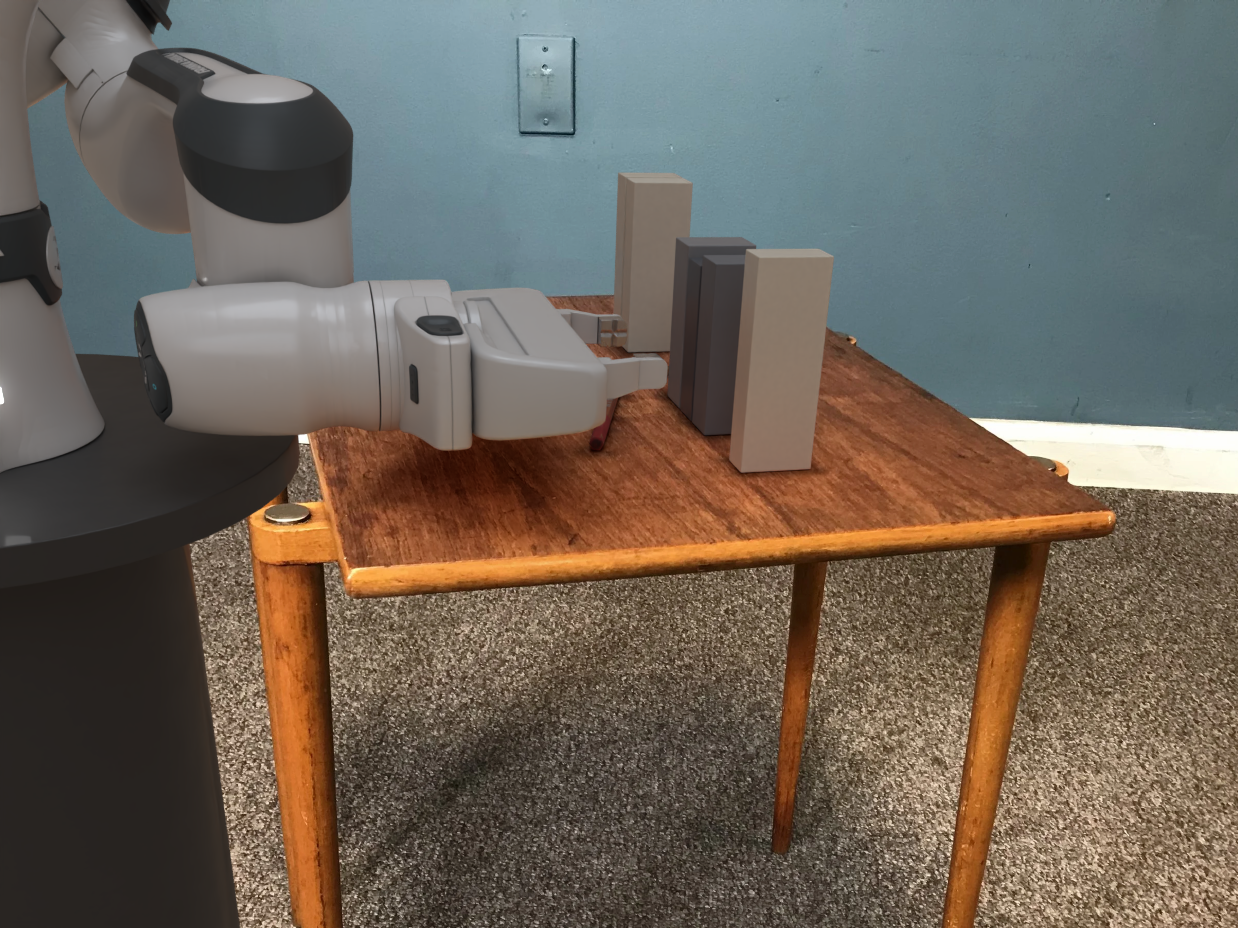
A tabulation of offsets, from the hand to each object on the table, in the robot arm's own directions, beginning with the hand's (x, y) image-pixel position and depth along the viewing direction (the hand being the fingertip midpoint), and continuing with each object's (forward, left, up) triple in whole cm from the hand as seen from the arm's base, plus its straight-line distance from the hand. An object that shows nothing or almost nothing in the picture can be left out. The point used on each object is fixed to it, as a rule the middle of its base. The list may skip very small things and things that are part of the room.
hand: (643, 349), depth 80 cm
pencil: (+1, +13, -8) cm, 15 cm away
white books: (+9, +28, -8) cm, 30 cm away
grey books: (+9, +11, -8) cm, 17 cm away
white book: (+9, 0, -8) cm, 12 cm away
